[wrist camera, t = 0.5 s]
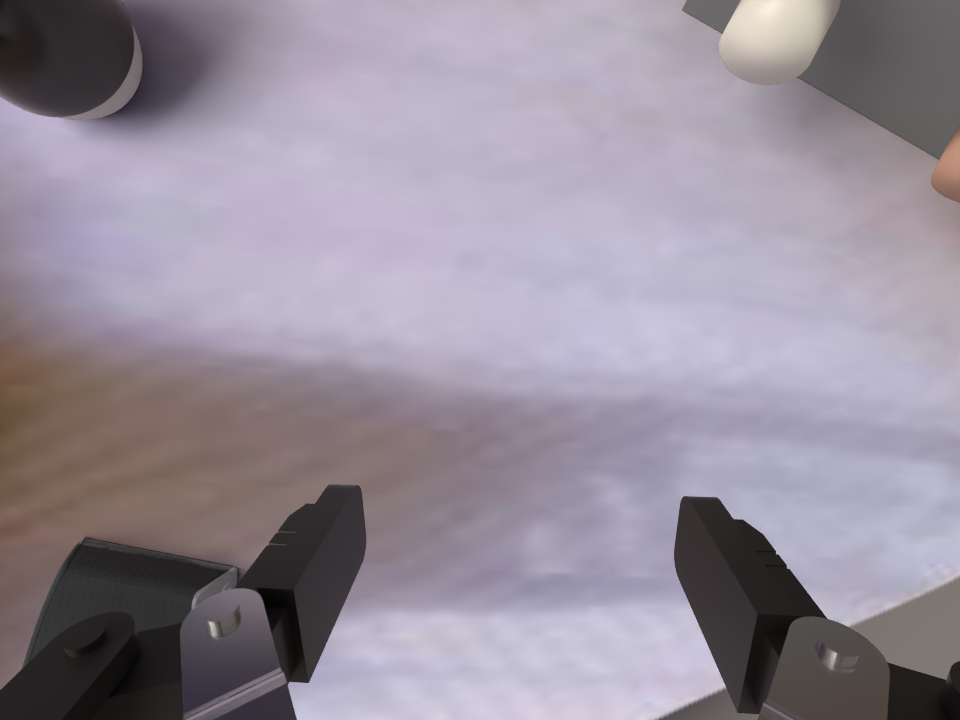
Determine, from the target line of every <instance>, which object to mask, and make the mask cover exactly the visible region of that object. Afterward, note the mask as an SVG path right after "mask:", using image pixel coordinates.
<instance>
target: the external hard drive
mask: <svg viewBox="0 0 960 720" xmlns="http://www.w3.org/2000/svg"><path fill="white" fill-rule="evenodd" d="M236 586H237V568H235V567H233V566H228V565H223V564H217V563H212V562H207V561H202V560H196V559H191V558H186V557H181V556H176V555H172V554H166V553H161V552H156V551H151V550H145V549H140V548H135V547H130V546H124V545H119V544H114V543H109V542H104V541H98V540H93V539H88V538H82V540H81V541H80V542H79V543H78V544H77V545H76V546H75V547H74V548H73V550H72V551H71V552H70V554H69V555H68V557H67V558H66V560H65V561H64V563H63V564H62V566H61V568H60V570H59V572H58V573H57V575H56V577H55V579H54V581H53V583H52V586H51V588H50V590H49V592H48V595H47V597H46V600H45V602H44V605H43V607H42V610H41V612H40V615H39V618H38V620H37V623H36V626H35V629H34V632H33V636H32V638H31V641H30V645H29V648H28V651H27V654H26V658H25V661H24V664H23V668H24V667H25V666H26V665H27V664H28V663H29V662H30V661H31V660H32V659H33V658H34V657H35V656H36V655H37V654H38V653H39V652H40V651H41V650H42V649H43V648H44V647H45V646H46V645H47V644H48V643H49V642H50V641H52V640H53V639H54V638H55V637H56V636H58V635H59V634H60V633H61V632H63V631H64V630H66V629H68V628H69V627H71V626H73V625H74V624H76V623H78V622H80V621H82V620H85V619H87V618H89V617H92V616H95V615H98V614H102V613H107V612H124V613H128V614H129V615H131V616H132V617H133V618H134V621H135V625H136V628H137V632H140V631H144V630H149V629H154V628H159V627H164V626H168V625H173V624H178V623H182V622H183V621H184V619H185V618H186V617H187V615H188V614H189V613H190V612H191V611H192V610H193V609H194V608H195V607H196V606H197V605H198V604H200V603H201V602H203V601H204V600H206V599H207V598H209V597H211V596H213V595H215V594H218V593H220V592H223V591H226V590H231V589H234V588H235V587H236ZM23 668H22V669H23Z"/></svg>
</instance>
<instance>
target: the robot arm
mask: <svg viewBox="0 0 960 720" xmlns="http://www.w3.org/2000/svg"><path fill="white" fill-rule="evenodd" d="M365 549H366V529H365V520H364V510H363V500H362V492H361V488H360V486H358V485H331V484H330V485H328V486H327V487H326V489H325V490H324V492H323V493H322V495H321V496H320V497H319V499H318V500H317V502H316V503H315V504H305V505H304V506H303V507H301V508H300V509H298V510H297V511H295V512H294V513H293V514H291V515H290V516H289V517H288V518H287V519H286V521H285V522H284V523H283V525H282V526H281V527H280V529H279V530H278V534H277V533H276V534H275V535H274V537H273V538H272V539H271V541H270V542H269V546H266V547H265V549H264V550H263V551H262V553H261V554H260V555H259V557H258V558H257V559H256V561H255V562H254V563H253V564H252V566H251V567H250V568H249V570H248V571H247V572H246V574H245V575H244V576H243V578H242V579H241V580H240V582H239V583H238V584H237V586H236V587H235V588H234V589H231V590H226V591H223V592H220V593H218V594H215V595H213V596H211V597H209V598H207V599H206V600H204V601H203V602H201V603H200V604H198V605H197V606H196V607H195V608H194V609H193V610H192V611H191V612H190V613H189V614H188V615H187V617H186V618H185V619H184V621H183V622H182V623H178V624H173V625H168V626H164V627H159V628H154V629H149V630H144V631H140V632H137V628H136V625H135V621H134V618H133V617H132V616H131V615H129V614H128V613H124V612H107V613H102V614H98V615H95V616H92V617H89V618H87V619H85V620H82V621H80V622H78V623H76V624H74V625H73V626H71V627H69V628H68V629H66V630H64V631H63V632H61V633H60V634H59V635H58V636H56V637H55V638H54V639H53V640H52V641H50V642H49V643H48V644H47V645H46V646H45V647H44V648H43V649H42V650H41V651H40V652H39V653H38V654H37V655H36V656H35V657H34V658H33V659H32V660H31V661H30V662H29V663H28V664H27V665H26V666H25V667H24V668H23V669H22V670H21V671H20V672H19V673H18V674H17V675H16V676H15V677H13V678H12V679H11V680H10V681H9V682H8V683H7V684H6V685H5V686H4V687H3V688H2V689H1V690H0V720H297V719H296V715H295V711H294V708H293V704H292V700H291V696H290V693H289V689H288V683H289V682H302V683H309V681H310V679H311V677H312V674H313V672H314V670H315V668H316V665H317V663H318V661H319V659H320V656H321V654H322V652H323V650H324V647H325V645H326V643H327V641H328V638H329V636H330V634H331V632H332V629H333V627H334V625H335V623H336V620H337V618H338V616H339V614H340V611H341V609H342V607H343V605H344V603H345V600H346V598H347V596H348V594H349V591H350V589H351V587H352V585H353V582H354V580H355V578H356V576H357V573H358V571H359V569H360V567H361V564H362V562H363V559H364V555H365ZM674 560H675V567H676V572H677V575H678V578H679V580H680V583H681V585H682V587H683V590H684V592H685V594H686V596H687V599H688V601H689V603H690V606H691V608H692V610H693V612H694V615H695V617H696V619H697V621H698V624H699V626H700V628H701V631H702V633H703V635H704V637H705V640H706V642H707V644H708V647H709V649H710V651H711V653H712V656H713V658H714V660H715V662H716V665H717V667H718V669H719V672H720V674H721V676H722V678H723V681H724V683H725V685H726V688H727V690H728V692H729V694H730V697H731V699H732V701H733V703H734V705H735V708H736V710H737V712H738V713H751V714H759V717H758V720H960V661H959V662H956V663H955V664H953V665H952V667H951V669H950V672H949V675H948V677H947V680H944V679H941V678H937V677H934V676H931V675H927V674H924V673H920V672H917V671H914V670H910V669H906V668H903V667H900V666H897V665H894V664H890V663H888V662H886V660H885V658H884V656H883V655H882V654H881V652H880V651H879V650H878V649H877V648H876V647H875V646H874V645H873V644H872V643H871V642H870V641H868V640H867V639H866V638H865V637H863V636H862V635H860V634H859V633H857V632H855V631H854V630H852V629H851V628H849V627H847V626H845V625H843V624H840V623H838V622H835V621H832V620H829V619H827V618H826V616H825V615H824V614H823V612H822V611H821V610H820V609H819V607H818V606H817V605H816V603H815V602H814V601H813V599H812V598H811V597H810V595H809V594H808V593H807V591H806V590H805V589H804V588H803V586H802V585H801V584H800V582H799V581H798V580H797V578H796V577H795V576H794V574H793V573H792V572H791V570H790V569H787V565H786V564H785V563H784V561H783V560H782V559H781V557H780V556H779V555H776V551H775V549H774V548H773V547H772V546H771V544H770V543H769V542H768V540H767V539H766V538H765V536H764V535H763V534H762V533H760V532H759V531H758V530H756V529H755V528H754V527H752V526H751V525H749V524H748V523H747V522H745V521H744V520H737V519H733V518H732V517H731V515H730V514H729V512H728V511H727V509H726V508H725V507H724V505H723V504H722V502H721V501H720V500H719V499H718V498H716V497H689V496H684V497H683V498H682V500H681V503H680V510H679V518H678V525H677V533H676V541H675V549H674Z"/></svg>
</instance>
